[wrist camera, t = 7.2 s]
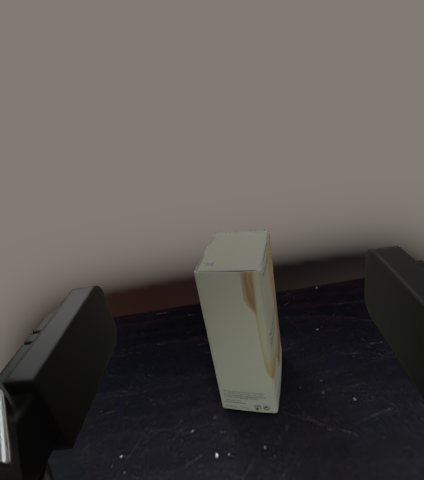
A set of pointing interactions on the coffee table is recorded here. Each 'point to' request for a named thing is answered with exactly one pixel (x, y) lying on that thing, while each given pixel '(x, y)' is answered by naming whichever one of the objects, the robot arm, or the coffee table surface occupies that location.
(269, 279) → the cosmetic box
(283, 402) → the coffee table surface
